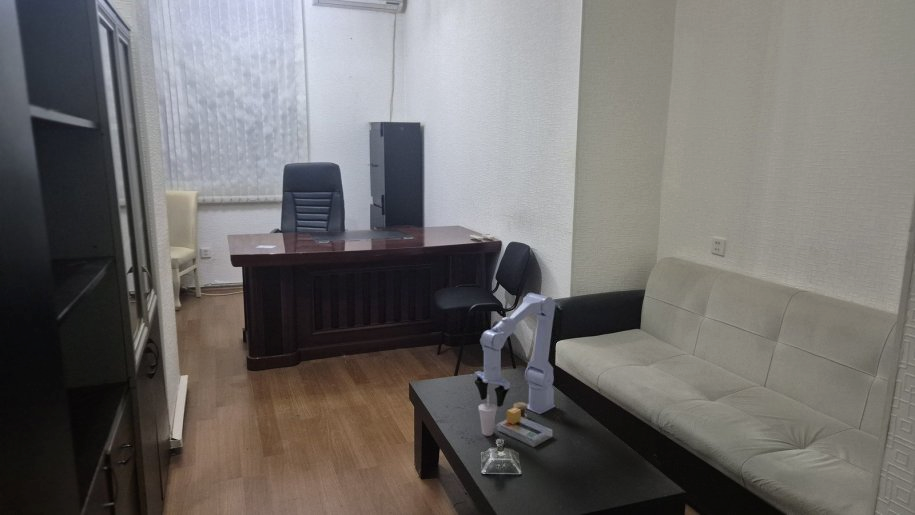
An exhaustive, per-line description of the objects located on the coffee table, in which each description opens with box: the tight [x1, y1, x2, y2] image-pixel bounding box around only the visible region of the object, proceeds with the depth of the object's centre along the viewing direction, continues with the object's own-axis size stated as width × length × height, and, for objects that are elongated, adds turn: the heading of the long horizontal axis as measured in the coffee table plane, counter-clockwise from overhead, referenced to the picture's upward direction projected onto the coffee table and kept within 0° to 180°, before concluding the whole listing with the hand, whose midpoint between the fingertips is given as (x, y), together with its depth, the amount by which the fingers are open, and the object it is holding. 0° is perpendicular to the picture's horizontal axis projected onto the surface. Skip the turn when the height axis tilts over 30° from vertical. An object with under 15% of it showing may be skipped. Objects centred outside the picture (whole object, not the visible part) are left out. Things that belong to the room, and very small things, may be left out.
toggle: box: [506, 406, 521, 424], centre depth 207 cm, size 4×3×4 cm
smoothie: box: [478, 393, 498, 437], centre depth 203 cm, size 6×6×14 cm
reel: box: [513, 401, 528, 419], centre depth 216 cm, size 5×5×5 cm
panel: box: [497, 417, 553, 448], centre depth 204 cm, size 10×16×3 cm, turn 44°
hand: (491, 402), depth 205 cm, fingers open, 7 cm apart
